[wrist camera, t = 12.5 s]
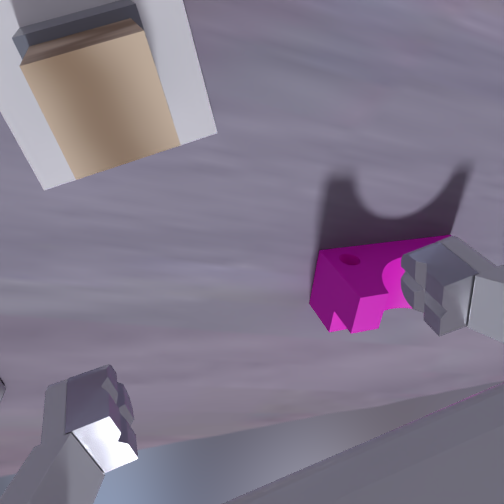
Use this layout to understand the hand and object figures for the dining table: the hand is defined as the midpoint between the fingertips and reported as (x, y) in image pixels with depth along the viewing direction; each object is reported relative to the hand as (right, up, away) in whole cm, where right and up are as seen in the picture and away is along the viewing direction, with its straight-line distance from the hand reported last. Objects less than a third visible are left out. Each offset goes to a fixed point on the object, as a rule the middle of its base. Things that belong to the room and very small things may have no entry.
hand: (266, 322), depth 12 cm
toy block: (+12, 0, +33) cm, 35 cm away
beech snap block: (-8, +11, +11) cm, 17 cm away
